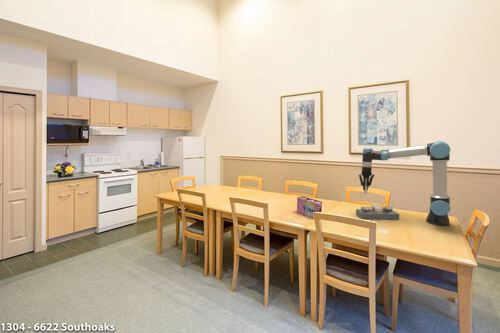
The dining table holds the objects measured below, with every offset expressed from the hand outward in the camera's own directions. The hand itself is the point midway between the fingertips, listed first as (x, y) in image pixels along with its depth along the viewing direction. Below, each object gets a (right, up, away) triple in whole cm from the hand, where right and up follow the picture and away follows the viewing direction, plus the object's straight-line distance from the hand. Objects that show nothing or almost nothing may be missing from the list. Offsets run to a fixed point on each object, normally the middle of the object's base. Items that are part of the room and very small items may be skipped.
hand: (365, 193), depth 222 cm
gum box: (-47, -19, +5) cm, 51 cm away
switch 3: (+18, -12, -2) cm, 21 cm away
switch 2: (+9, -12, -2) cm, 15 cm away
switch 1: (0, -12, -2) cm, 12 cm away
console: (+9, -20, -2) cm, 22 cm away
